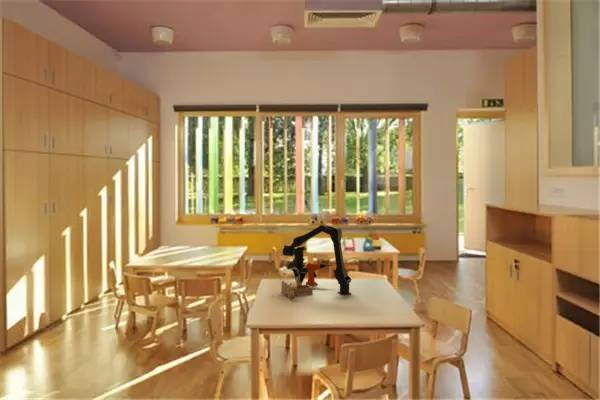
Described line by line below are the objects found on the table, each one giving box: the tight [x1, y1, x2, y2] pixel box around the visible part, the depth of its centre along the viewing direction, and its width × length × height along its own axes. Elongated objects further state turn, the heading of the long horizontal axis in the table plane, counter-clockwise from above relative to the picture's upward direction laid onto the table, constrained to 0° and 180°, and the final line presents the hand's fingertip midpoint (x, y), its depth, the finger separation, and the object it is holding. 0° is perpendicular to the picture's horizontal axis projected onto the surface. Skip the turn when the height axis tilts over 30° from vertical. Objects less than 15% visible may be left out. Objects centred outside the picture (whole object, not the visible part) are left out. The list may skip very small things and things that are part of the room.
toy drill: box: [304, 262, 333, 287], centre depth 324 cm, size 5×19×15 cm, turn 86°
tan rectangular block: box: [289, 281, 297, 289], centre depth 289 cm, size 4×3×3 cm
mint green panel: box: [295, 277, 303, 285], centre depth 311 cm, size 8×14×8 cm, turn 109°
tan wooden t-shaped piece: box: [281, 280, 314, 300], centre depth 295 cm, size 18×16×7 cm
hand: (298, 281), depth 312 cm, fingers open, 9 cm apart
